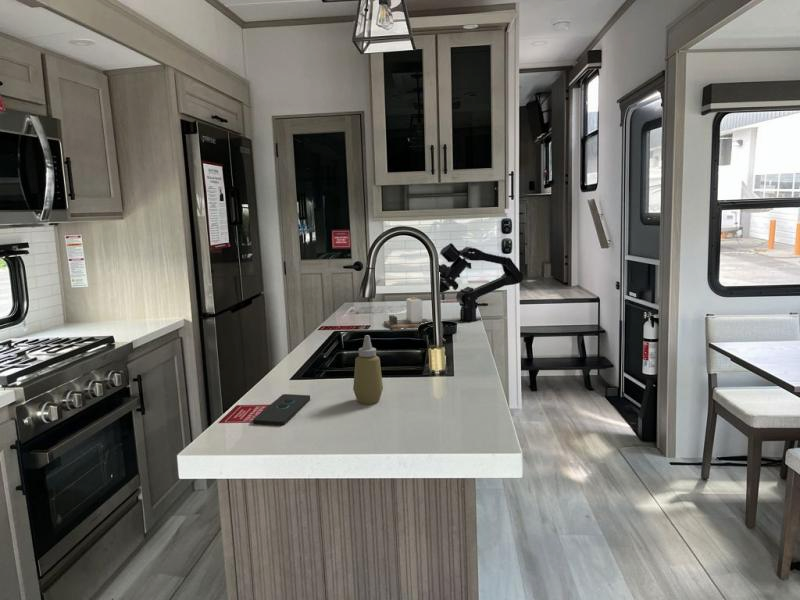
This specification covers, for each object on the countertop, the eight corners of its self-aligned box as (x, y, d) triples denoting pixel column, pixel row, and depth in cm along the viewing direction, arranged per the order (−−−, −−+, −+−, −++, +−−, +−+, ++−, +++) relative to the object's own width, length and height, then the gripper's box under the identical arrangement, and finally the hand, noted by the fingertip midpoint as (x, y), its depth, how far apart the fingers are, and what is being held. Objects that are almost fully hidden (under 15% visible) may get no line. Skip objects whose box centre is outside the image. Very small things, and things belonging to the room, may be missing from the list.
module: (416, 319, 261) (416, 295, 259) (422, 322, 254) (422, 298, 252) (406, 320, 259) (406, 296, 257) (411, 323, 252) (411, 298, 251)
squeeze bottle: (389, 399, 157) (388, 334, 154) (372, 408, 150) (371, 340, 147) (364, 394, 161) (362, 331, 158) (347, 403, 154) (345, 336, 152)
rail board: (421, 320, 265) (421, 311, 264) (432, 326, 252) (432, 316, 251) (383, 323, 260) (383, 314, 259) (393, 329, 247) (392, 319, 246)
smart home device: (311, 394, 158) (283, 421, 138) (311, 400, 158) (284, 428, 139) (282, 393, 159) (251, 419, 140) (283, 399, 160) (251, 426, 140)
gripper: (436, 255, 265) (413, 280, 264) (451, 258, 247) (427, 285, 246) (452, 272, 269) (429, 297, 267) (468, 276, 251) (444, 303, 249)
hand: (432, 295), depth 257 cm, fingers closed
